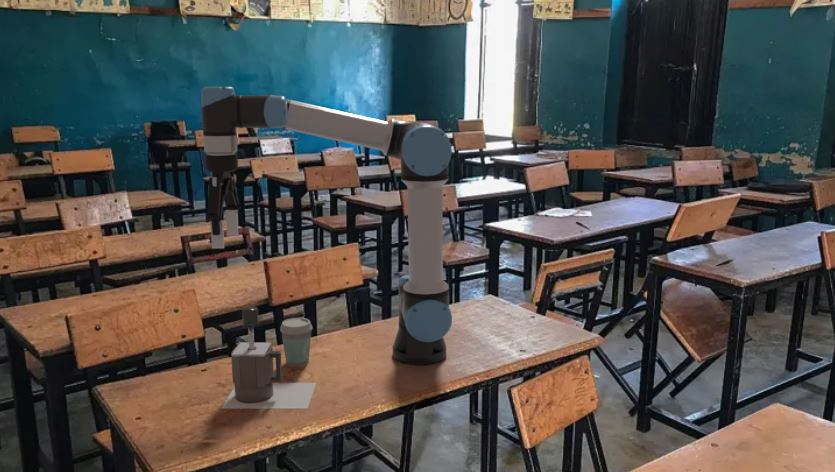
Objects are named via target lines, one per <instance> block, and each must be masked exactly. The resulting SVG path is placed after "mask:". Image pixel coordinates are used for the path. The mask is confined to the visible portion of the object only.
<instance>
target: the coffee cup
mask: <svg viewBox="0 0 835 472" xmlns="http://www.w3.org/2000/svg"><path fill="white" fill-rule="evenodd" d="M312 330H313V325H312V322H311V320H310V319H308V318H303V317H291V318H287V319H284V320H282V323H281V325H280V329H279V331H280V333H281V338H282V345H283V350H284V355H285V356H284V358H285V362H286V363H285V364H286V365H287V366H289V367H290V368H300V367H305V366H306V365H307V366H308V364H309V362H310V361H309V360H310V351H311V338H312Z"/></svg>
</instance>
